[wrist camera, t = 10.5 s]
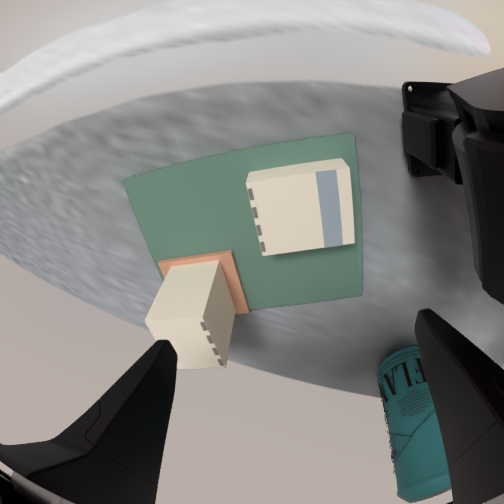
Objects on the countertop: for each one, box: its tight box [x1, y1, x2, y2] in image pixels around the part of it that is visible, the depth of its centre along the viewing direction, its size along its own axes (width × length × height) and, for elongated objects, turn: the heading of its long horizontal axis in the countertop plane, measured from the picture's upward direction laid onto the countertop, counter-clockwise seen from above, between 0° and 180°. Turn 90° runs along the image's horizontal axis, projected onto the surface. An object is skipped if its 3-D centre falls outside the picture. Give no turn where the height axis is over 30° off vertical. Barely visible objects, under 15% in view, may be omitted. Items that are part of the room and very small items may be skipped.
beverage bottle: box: [377, 346, 453, 504], centre depth 19 cm, size 6×7×20 cm
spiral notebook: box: [246, 158, 355, 256], centre depth 18 cm, size 6×5×2 cm
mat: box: [122, 133, 362, 310], centre depth 21 cm, size 16×13×1 cm
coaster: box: [158, 250, 249, 314], centre depth 24 cm, size 6×6×1 cm
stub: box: [145, 260, 236, 369], centre depth 21 cm, size 4×5×6 cm
